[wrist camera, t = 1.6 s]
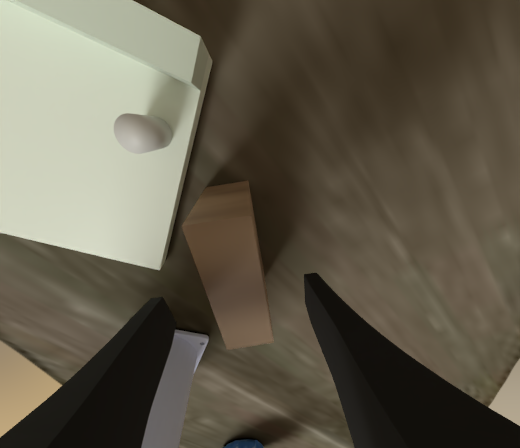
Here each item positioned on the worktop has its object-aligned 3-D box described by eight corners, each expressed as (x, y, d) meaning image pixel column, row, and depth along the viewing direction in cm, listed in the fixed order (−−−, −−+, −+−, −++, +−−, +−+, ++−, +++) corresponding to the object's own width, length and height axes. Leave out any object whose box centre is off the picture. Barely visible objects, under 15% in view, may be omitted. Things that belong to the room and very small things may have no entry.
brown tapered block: (264, 277, 18) (273, 342, 12) (230, 282, 18) (224, 350, 12) (248, 180, 13) (251, 215, 8) (203, 187, 13) (177, 226, 8)
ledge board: (165, 260, 16) (144, 295, 13) (-98, 194, 12) (-226, 219, 9) (212, 61, 10) (198, 30, 7) (-241, -170, 7) (-719, -462, 3)
